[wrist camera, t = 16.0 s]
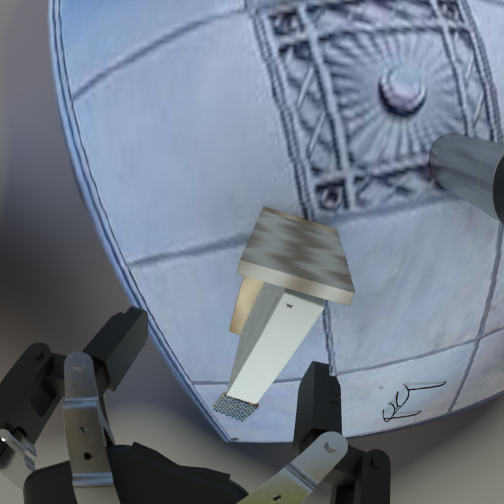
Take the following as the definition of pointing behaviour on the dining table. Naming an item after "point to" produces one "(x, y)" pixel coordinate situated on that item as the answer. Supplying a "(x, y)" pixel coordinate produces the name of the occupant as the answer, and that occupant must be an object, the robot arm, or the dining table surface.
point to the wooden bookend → (291, 262)
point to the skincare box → (270, 338)
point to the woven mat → (235, 407)
